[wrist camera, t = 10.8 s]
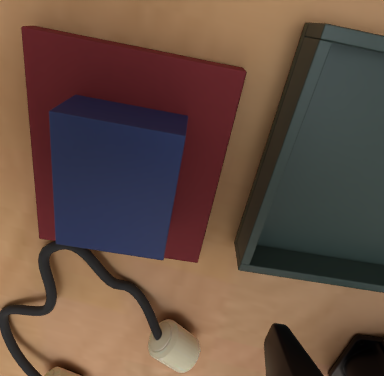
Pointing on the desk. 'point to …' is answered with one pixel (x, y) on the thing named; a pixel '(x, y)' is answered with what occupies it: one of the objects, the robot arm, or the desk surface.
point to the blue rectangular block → (114, 175)
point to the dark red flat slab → (143, 97)
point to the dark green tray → (323, 167)
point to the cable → (161, 332)
